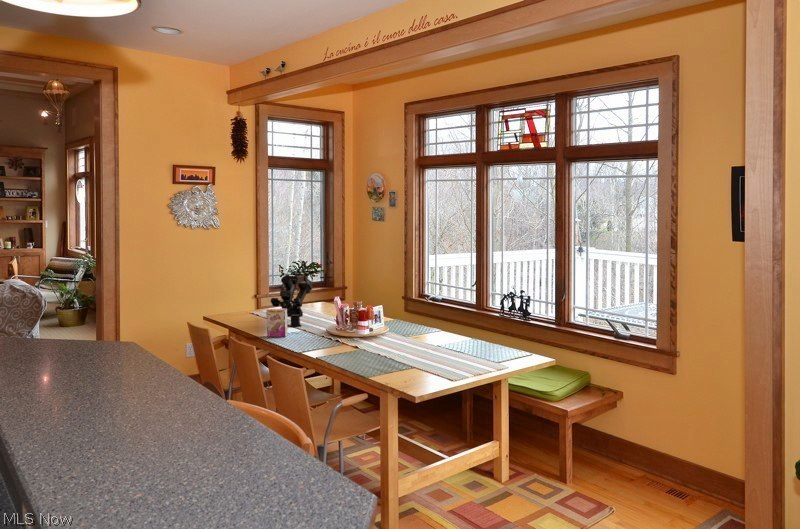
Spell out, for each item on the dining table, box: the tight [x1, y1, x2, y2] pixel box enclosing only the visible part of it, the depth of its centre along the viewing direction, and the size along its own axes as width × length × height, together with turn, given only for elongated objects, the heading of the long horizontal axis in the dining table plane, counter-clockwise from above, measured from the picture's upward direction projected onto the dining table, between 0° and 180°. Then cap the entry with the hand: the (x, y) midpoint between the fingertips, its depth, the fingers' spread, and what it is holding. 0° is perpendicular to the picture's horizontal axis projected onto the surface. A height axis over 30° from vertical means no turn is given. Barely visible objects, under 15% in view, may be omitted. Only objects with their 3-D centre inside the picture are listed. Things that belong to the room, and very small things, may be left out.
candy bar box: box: [266, 308, 289, 338], centre depth 378 cm, size 11×5×16 cm, turn 84°
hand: (283, 313), depth 387 cm, fingers closed
